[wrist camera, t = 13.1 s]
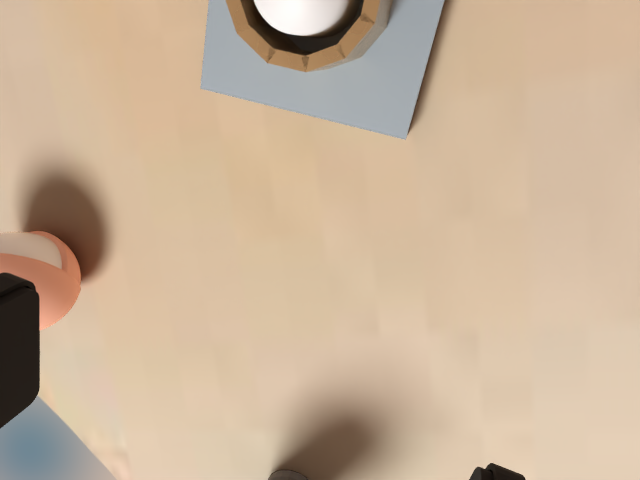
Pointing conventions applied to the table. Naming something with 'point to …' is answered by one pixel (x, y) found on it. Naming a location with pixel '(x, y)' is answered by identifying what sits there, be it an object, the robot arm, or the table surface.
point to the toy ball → (43, 270)
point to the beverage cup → (286, 475)
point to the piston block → (335, 83)
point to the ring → (288, 54)
